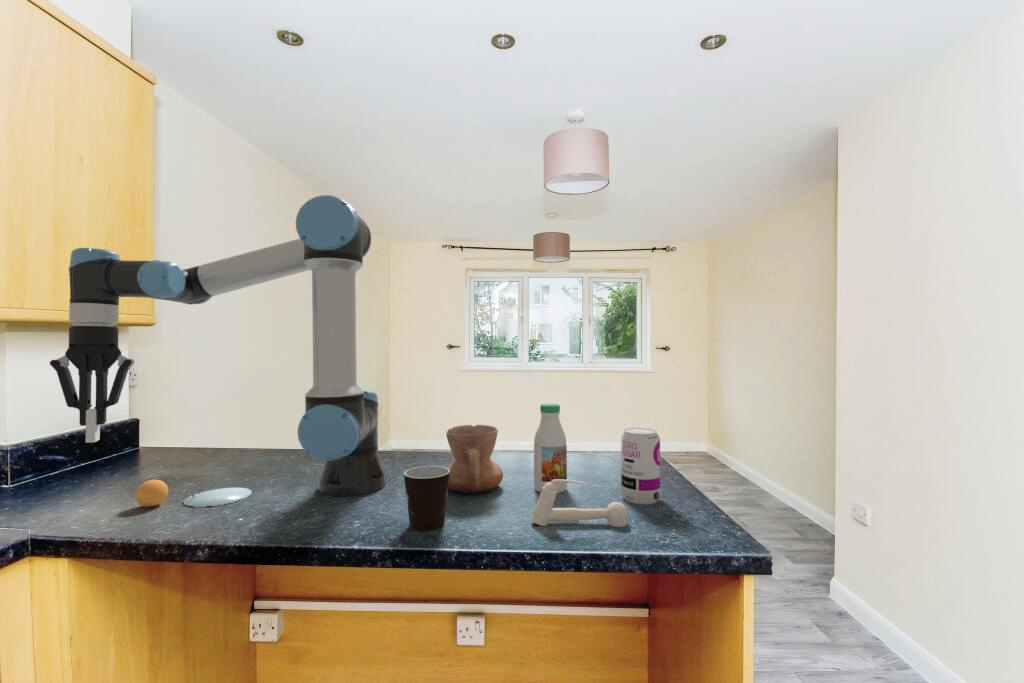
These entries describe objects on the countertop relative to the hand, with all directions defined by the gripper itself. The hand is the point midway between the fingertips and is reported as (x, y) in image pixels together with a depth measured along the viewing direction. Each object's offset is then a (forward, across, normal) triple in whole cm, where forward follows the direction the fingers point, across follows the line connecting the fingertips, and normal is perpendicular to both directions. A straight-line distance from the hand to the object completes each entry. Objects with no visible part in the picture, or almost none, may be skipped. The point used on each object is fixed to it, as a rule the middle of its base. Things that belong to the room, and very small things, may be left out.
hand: (92, 441), depth 94 cm
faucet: (+14, -85, +50) cm, 100 cm away
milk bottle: (+14, -91, +30) cm, 97 cm away
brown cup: (+14, -60, +36) cm, 71 cm away
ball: (+12, -10, 0) cm, 15 cm away
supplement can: (+14, -105, +45) cm, 115 cm away
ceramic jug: (+14, -75, +21) cm, 79 cm away
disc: (+15, -22, 0) cm, 26 cm away
